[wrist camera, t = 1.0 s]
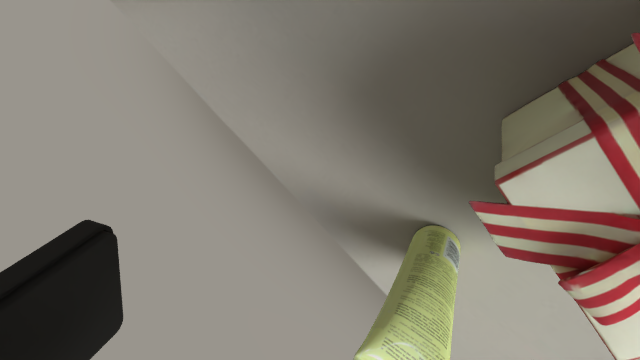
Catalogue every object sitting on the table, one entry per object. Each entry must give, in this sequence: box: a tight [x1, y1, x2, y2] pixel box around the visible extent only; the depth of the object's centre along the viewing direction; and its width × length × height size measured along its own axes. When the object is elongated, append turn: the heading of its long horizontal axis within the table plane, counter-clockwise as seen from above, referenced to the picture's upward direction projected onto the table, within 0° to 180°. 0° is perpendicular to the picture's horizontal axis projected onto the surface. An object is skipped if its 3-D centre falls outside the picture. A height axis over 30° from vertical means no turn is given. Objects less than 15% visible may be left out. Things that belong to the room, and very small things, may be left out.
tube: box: [353, 226, 460, 360], centre depth 39 cm, size 6×5×20 cm
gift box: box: [469, 33, 640, 360], centre depth 30 cm, size 17×18×17 cm
